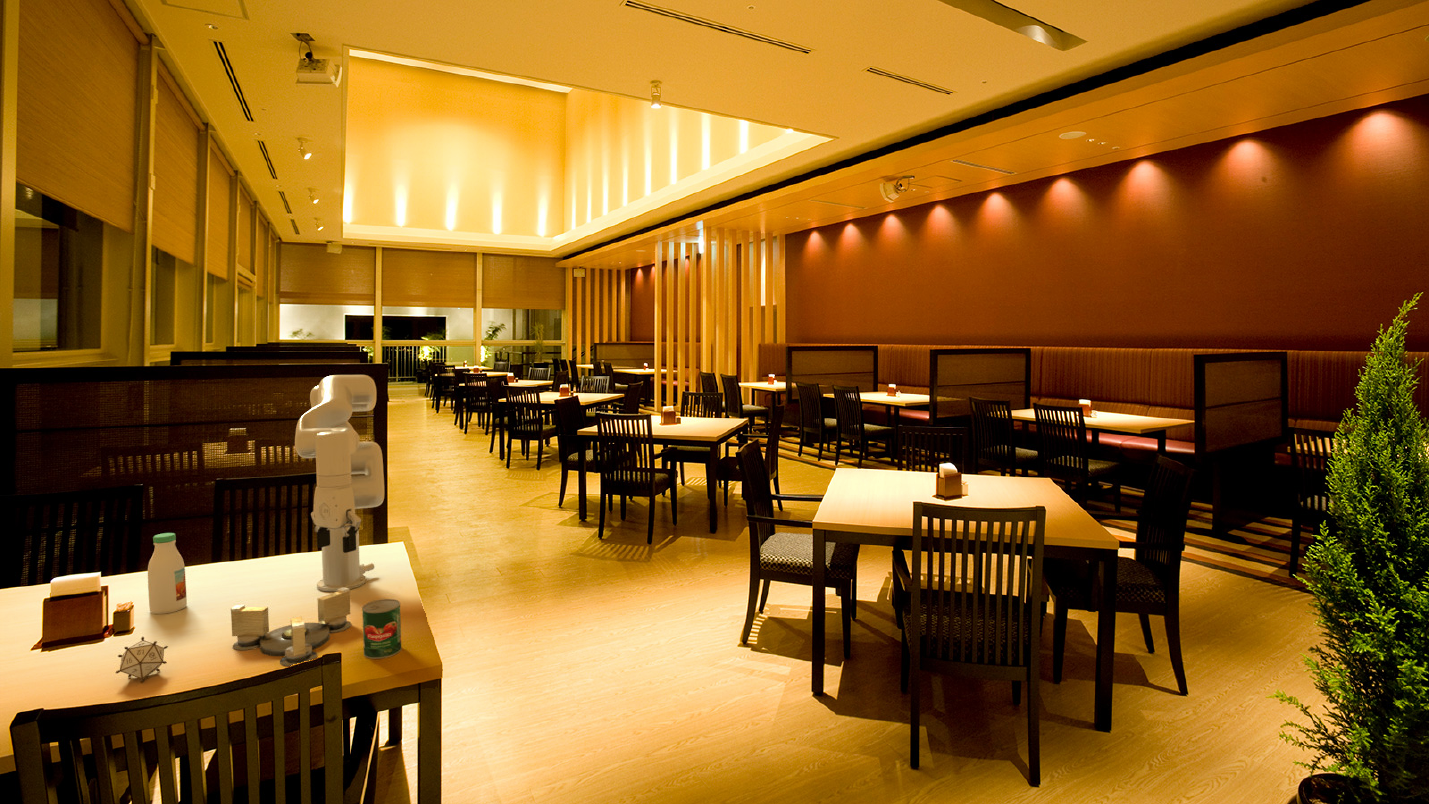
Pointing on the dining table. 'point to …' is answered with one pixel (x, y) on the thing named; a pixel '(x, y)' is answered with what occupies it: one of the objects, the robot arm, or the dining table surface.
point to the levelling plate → (281, 640)
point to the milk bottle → (166, 576)
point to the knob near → (334, 608)
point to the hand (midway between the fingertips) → (336, 549)
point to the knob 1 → (249, 624)
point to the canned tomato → (381, 628)
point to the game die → (142, 659)
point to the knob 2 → (298, 642)
